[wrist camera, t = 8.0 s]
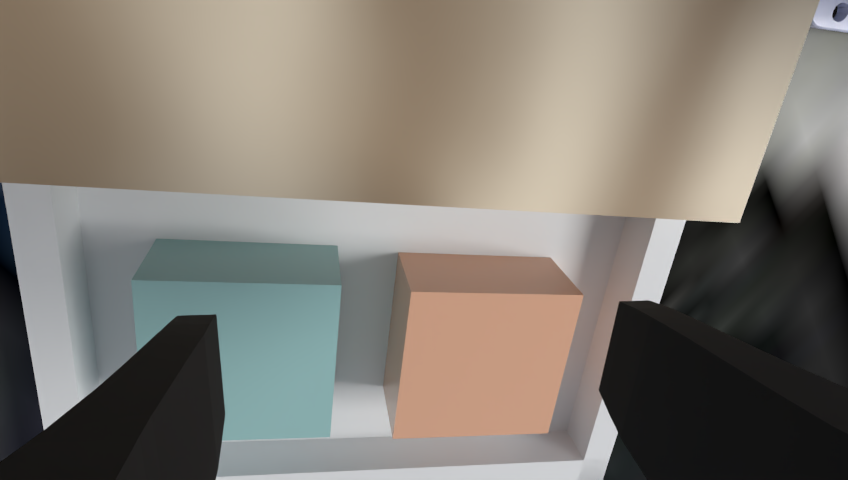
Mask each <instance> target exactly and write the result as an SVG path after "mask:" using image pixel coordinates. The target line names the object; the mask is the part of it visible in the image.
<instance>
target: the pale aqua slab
mask: <svg viewBox="0 0 848 480" xmlns="http://www.w3.org/2000/svg"><path fill="white" fill-rule="evenodd" d="M131 285H132V297H133V309H134V321H135V333H136V345H137V352H138V351H139V350H140V349H141V348H142V347H143V346H144V345H145V344H146V343H147V342H149V341H150V340H151V339H152V338H153V337H154V336H155V335H156V334H157V333H158V332H159V331H161V330H162V329H163V328H164V327H165V326H166V325H167V324H168V323H169V322H170V321H172V320H173V319H174V318H175V317H176V316H182V315H212V314H216V316H217V327H218V338H219V349H220V360H221V371H222V382H223V394H224V405H225V421H224V429H223V436H222V441H226V440H257V439H288V438H320V437H330V432H331V418H332V405H333V392H334V379H335V366H336V353H337V340H338V327H339V314H340V301H341V288H342V283H341V274H340V265H339V256H338V246H335V245H309V244H284V243H258V242H232V241H207V240H181V239H156V240H155V241H154V243H153V245H152V246H151V248H150V250H149V251H148V253H147V255H146V256H145V258H144V260H143V261H142V263H141V265H140V266H139V268H138V270H137V271H136V273H135V275H134V276H133V278H132V280H131Z"/></svg>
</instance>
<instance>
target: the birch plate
mask: <svg viewBox="0 0 848 480" xmlns="http://www.w3.org/2000/svg"><path fill="white" fill-rule="evenodd" d="M819 1H820V0H0V182H1V183H19V184H38V185H56V186H74V187H92V188H111V189H129V190H147V191H165V192H184V193H202V194H220V195H238V196H257V197H275V198H293V199H311V200H330V201H348V202H366V203H384V204H403V205H421V206H439V207H457V208H476V209H494V210H512V211H530V212H549V213H567V214H585V215H603V216H621V217H640V218H658V219H676V220H694V221H713V222H731V223H740V220H741V217H742V214H743V211H744V209H745V206H746V203H747V200H748V198H749V195H750V192H751V189H752V187H753V184H754V181H755V178H756V175H757V173H758V170H759V167H760V164H761V162H762V159H763V156H764V153H765V151H766V148H767V145H768V142H769V139H770V137H771V134H772V131H773V128H774V126H775V123H776V120H777V117H778V114H779V112H780V109H781V106H782V103H783V101H784V98H785V95H786V92H787V90H788V87H789V84H790V81H791V78H792V76H793V73H794V70H795V67H796V65H797V62H798V59H799V56H800V53H801V51H802V48H803V45H804V42H805V40H806V37H807V34H808V31H809V29H810V26H811V23H812V20H813V17H814V15H815V12H816V9H817V6H818V4H819Z"/></svg>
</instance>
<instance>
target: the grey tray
mask: <svg viewBox="0 0 848 480" xmlns="http://www.w3.org/2000/svg"><path fill="white" fill-rule="evenodd" d="M2 187H3V193H4V198H5V204H6V210H7V216H8V222H9V228H10V234H11V240H12V246H13V252H14V257H15V263H16V269H17V275H18V281H19V287H20V293H21V299H22V305H23V311H24V317H25V322H26V328H27V334H28V340H29V346H30V352H31V358H32V364H33V370H34V376H35V382H36V387H37V393H38V399H39V405H40V411H41V417H42V423H43V429H44V430H45V429H46V428H47V427H49V426H50V425H51V424H52V423H54V422H55V421H56V420H57V419H59V418H60V417H61V416H62V415H64V414H65V413H66V412H67V411H69V410H70V409H71V408H72V407H74V406H75V405H76V404H77V403H79V402H80V401H81V400H82V399H84V398H85V397H86V396H87V395H89V394H90V393H91V392H92V391H94V390H95V389H96V388H97V387H98V386H100V385H101V384H102V383H103V382H104V381H105V380H106V379H108V378H109V377H110V376H111V375H112V374H113V373H114V372H115V371H117V370H118V369H119V368H120V367H121V366H122V365H123V364H125V363H126V362H127V361H128V360H129V359H130V358H131V357H132V356H133V355H134V354H135V353H137V345H136V333H135V321H134V309H133V297H132V285H131V280H132V278H133V276H134V275H135V273H136V271H137V270H138V268H139V266H140V265H141V263H142V261H143V260H144V258H145V256H146V255H147V253H148V251H149V250H150V248H151V246H152V245H153V243H154V241H155V240H156V239H181V240H207V241H232V242H258V243H284V244H309V245H335V246H338V256H339V265H340V274H341V283H342V288H341V301H340V314H339V327H338V340H337V353H336V366H335V379H334V392H333V405H332V418H331V432H330V437H320V438H288V439H257V440H226V441H222V444H221V452H220V459H219V466H218V472H217V476H216V480H603V477H604V474H605V471H606V468H607V464H608V461H609V458H610V455H611V452H612V449H613V446H614V443H615V440H616V436H617V433H618V431H617V429H616V427H615V425H614V423H613V421H612V419H611V417H610V415H609V413H608V410H607V408H606V406H605V404H604V401H603V399H602V397H601V395H600V392H599V386H600V382H601V377H602V373H603V369H604V365H605V360H606V356H607V352H608V347H609V343H610V339H611V335H612V330H613V326H614V322H615V317H616V313H617V309H618V304H619V301H644V300H649V301H652V302H655V303H658V304H659V303H660V300H661V296H662V293H663V290H664V287H665V284H666V281H667V278H668V275H669V272H670V268H671V265H672V262H673V259H674V256H675V253H676V250H677V247H678V244H679V240H680V237H681V234H682V231H683V228H684V225H685V222H686V220H676V219H658V218H640V217H621V216H603V215H585V214H567V213H549V212H530V211H512V210H494V209H476V208H457V207H439V206H421V205H403V204H384V203H366V202H348V201H330V200H311V199H293V198H275V197H257V196H238V195H220V194H202V193H184V192H165V191H147V190H129V189H111V188H92V187H74V186H56V185H38V184H19V183H2ZM398 252H405V253H434V254H463V255H492V256H521V257H550V258H551V259H552V260H553V261H554V262H555V263H556V264H557V265H558V267H559V268H560V269H561V270H562V271H563V272H564V273H565V275H566V276H567V277H568V278H569V279H570V280H571V281H572V282H573V284H574V285H575V286H576V287H577V288H578V289H579V290H580V291H581V293H582V294H583V295H584V296H583V300H582V304H581V308H580V312H579V316H578V319H577V323H576V327H575V331H574V335H573V339H572V343H571V346H570V350H569V354H568V358H567V362H566V366H565V370H564V373H563V377H562V381H561V385H560V389H559V393H558V397H557V400H556V404H555V408H554V412H553V416H552V420H551V424H550V427H549V431H548V433H543V434H515V435H487V436H459V437H432V438H404V439H393V438H392V433H391V427H390V422H389V417H388V411H387V406H386V400H385V395H384V389H383V381H384V372H385V364H386V355H387V346H388V337H389V328H390V320H391V311H392V302H393V293H394V284H395V275H396V267H397V258H398Z"/></svg>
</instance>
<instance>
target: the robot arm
mask: <svg viewBox="0 0 848 480" xmlns="http://www.w3.org/2000/svg"><path fill="white" fill-rule="evenodd" d="M836 6H837V7H838V9H837V14H836V15H835V17H834V18H833V17H832V15H833V11H834V9H835V7H836ZM810 28H817V29H824V30H831V31H838V32H845V33H848V0H820V1H819V4H818V6H817V9H816V12H815V15H814V17H813V20H812V23H811V26H810ZM599 392H600V395H601V397H602V399H603V401H604V404H605V406H606V408H607V410H608V413H609V415H610V417H611V419H612V421H613V423H614V425H615V427H616V429H617V431H618V433H619V435H620V437H621V439H622V441H623V442H624V444H625V446H626V447H627V449H628V450H629V452H630V453H631V455H632V457H633V458H634V460H635V461H636V463H637V464H638V466H639V468H640V469H641V471H642V472H643V474H644V475H645V477H646V478H647V480H848V388H846V387H843V386H841V385H838V384H836V383H834V382H831V381H829V380H827V379H824V378H822V377H820V376H817V375H815V374H813V373H810V372H808V371H806V370H803V369H801V368H799V367H796V366H794V365H792V364H790V363H788V362H785V361H783V360H781V359H779V358H777V357H774V356H772V355H770V354H768V353H766V352H764V351H761V350H759V349H757V348H755V347H753V346H751V345H749V344H747V343H745V342H742V341H740V340H738V339H736V338H734V337H732V336H730V335H728V334H726V333H724V332H721V331H719V330H717V329H715V328H713V327H711V326H709V325H707V324H704V323H702V322H700V321H698V320H696V319H694V318H692V317H689V316H687V315H685V314H683V313H680V312H678V311H676V310H673V309H671V308H669V307H666V306H664V305H661V304H658V303H655V302H652V301H649V300H644V301H619V304H618V309H617V313H616V317H615V322H614V326H613V330H612V335H611V339H610V343H609V347H608V352H607V356H606V360H605V365H604V369H603V373H602V377H601V382H600V386H599ZM224 421H225V405H224V394H223V382H222V371H221V360H220V349H219V338H218V327H217V316H216V314H212V315H182V316H176V317H175V318H174V319H173V320H172V321H170V322H169V323H168V324H167V325H166V326H165V327H164V328H163V329H162V330H161V331H159V332H158V333H157V334H156V335H155V336H154V337H153V338H152V339H151V340H150V341H149V342H147V343H146V344H145V345H144V346H143V347H142V348H141V349H140V350H139V351H138V352H137V353H135V354H134V355H133V356H132V357H131V358H130V359H129V360H128V361H127V362H126V363H125V364H123V365H122V366H121V367H120V368H119V369H118V370H117V371H115V372H114V373H113V374H112V375H111V376H110V377H109V378H108V379H106V380H105V381H104V382H103V383H102V384H101V385H100V386H98V387H97V388H96V389H95V390H94V391H92V392H91V393H90V394H89V395H87V396H86V397H85V398H84V399H82V400H81V401H80V402H79V403H77V404H76V405H75V406H74V407H72V408H71V409H70V410H69V411H67V412H66V413H65V414H64V415H62V416H61V417H60V418H59V419H57V420H56V421H55V422H54V423H52V424H51V425H50V426H49V427H47V428H46V429H45V430H44V431H42V432H41V433H40V434H38V435H37V436H36V437H34V438H33V439H32V440H30V441H29V442H28V443H26V444H25V445H23V446H22V447H21V448H19V449H18V450H16V451H15V452H14V453H12V454H11V455H9V456H8V457H7V458H5V459H4V460H2V461H1V462H0V480H216V476H217V472H218V466H219V459H220V452H221V444H222V436H223V429H224Z"/></svg>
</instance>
